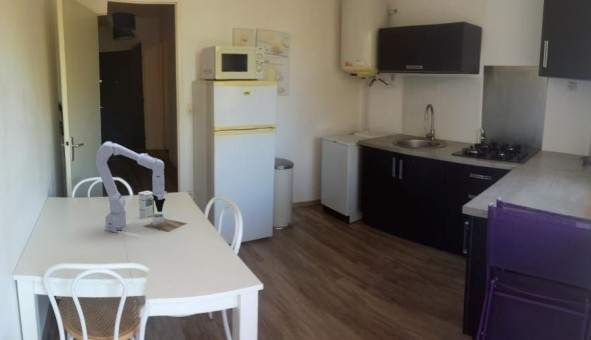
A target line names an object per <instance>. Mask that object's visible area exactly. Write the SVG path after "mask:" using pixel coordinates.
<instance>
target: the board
mask: <svg viewBox="0 0 591 340" xmlns="http://www.w3.org/2000/svg"><path fill="white" fill-rule="evenodd" d="M184 225H188V223H187V222H183V221H178V220H173V219H168V218H164V226H161V227H153V224H152V222H150V223H147V224H146V225H145V224H144V225H143V226H142V227H143V228H147V229H152V230H156V231H160V232H166V233H169V232H171V231H174V230H176V229H178V228H180V227H183V226H184Z"/></svg>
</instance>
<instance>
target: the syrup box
mask: <svg viewBox="0 0 591 340" xmlns="http://www.w3.org/2000/svg"><path fill="white" fill-rule="evenodd" d="M152 192H153V191H151V190H144V191H140V192H138V207H139V210H138V213H139V216H138V217H139V219H142V220H143V219H145V218H149V217H152V214H155V201H154V197H153V195H152Z"/></svg>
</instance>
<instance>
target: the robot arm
mask: <svg viewBox="0 0 591 340" xmlns="http://www.w3.org/2000/svg"><path fill="white" fill-rule="evenodd" d="M112 155H113V156H119V155H121V156H124V157H126V158H129V159H132V160H134V161H136V162H137V164H138V165H140V166H142V167H145V168H147V169H150V170H152V191H151V192H152V195H153V197H154V206H155V208H156V210H157V213H162V212H163V207H164V204H165V201H166V198H165V197H164V195H167V193H168V191H165V171H164V170H165V163H164V161H163V160H162V159H159V158H157V157H152V156H151V155H149V154H148V153H146V152H145V153H144V152H143V153H137V152H135V151H133V150H131V149H128V148H127V147H125V146H123V145H120V144H118V143H116V142H115V143H114V142H112V141H110V140H109V141H105V142H103V144H102V145H101V146H100V147H99V148H98V150H97V151H96V155H95V156H96V157H95V160H94V162H95V167H96V169H97V171H98V173H99V176H100V179H101V181H102V184H103V186H104V188H105V191H106V193H107V195H108V201H109V210H110V211H109V213H108V214H107V215H105V220H104V221H105V228H104V231H108V232H111V233H112V232H113V233H119V232H121V231H123V229H122V228H124V227H126V226H127V223H126V222H127V219H126V213H127V212H126V209H125V205H126V200H125V199H124V197H122V195H121V193H120V192H119V191H118V188H117V185H116V183H115V181H114V178H113V175H112V173H111V171H110V168H109V165H108V164H107V163H108V160H109V158H110V157H112Z"/></svg>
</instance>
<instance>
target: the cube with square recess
mask: <svg viewBox="0 0 591 340" xmlns="http://www.w3.org/2000/svg"><path fill="white" fill-rule="evenodd" d="M155 215H161V217H155ZM151 219H152V221H151V223H152V224H153V227H161V226H164V219H165V215H164V213H156V214H155V213H154V214H152V216H151Z"/></svg>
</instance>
